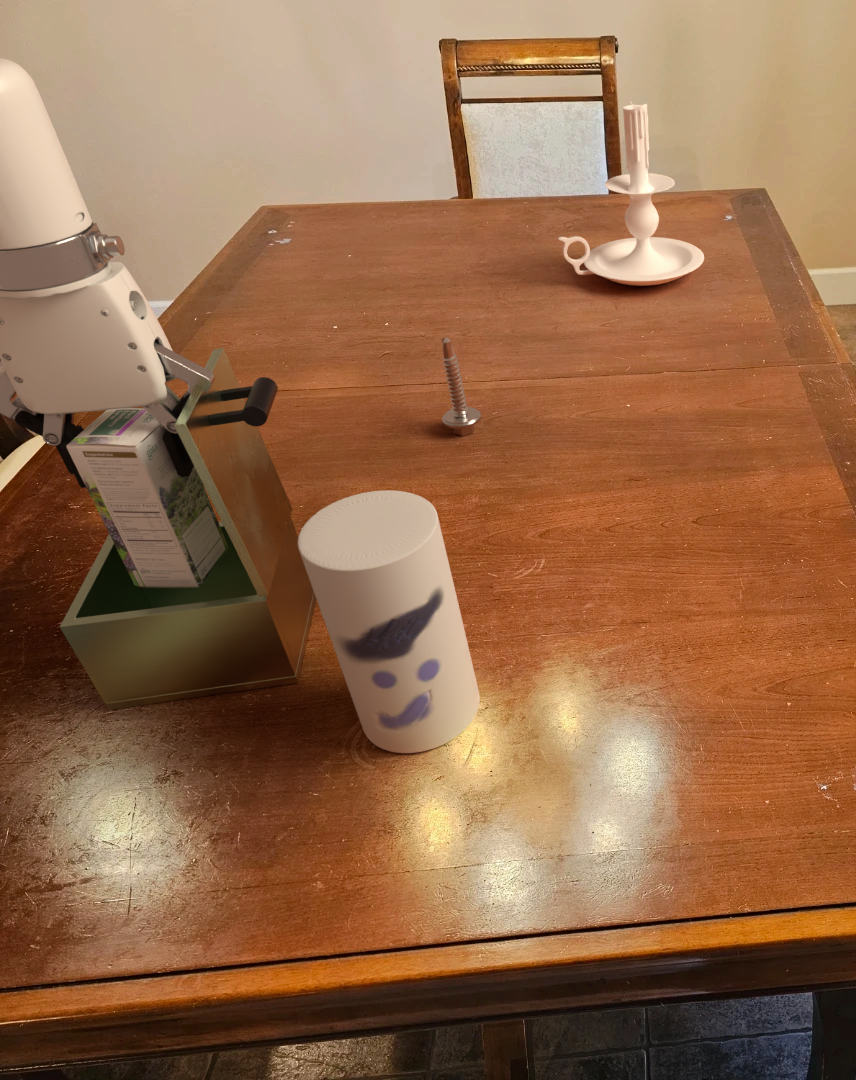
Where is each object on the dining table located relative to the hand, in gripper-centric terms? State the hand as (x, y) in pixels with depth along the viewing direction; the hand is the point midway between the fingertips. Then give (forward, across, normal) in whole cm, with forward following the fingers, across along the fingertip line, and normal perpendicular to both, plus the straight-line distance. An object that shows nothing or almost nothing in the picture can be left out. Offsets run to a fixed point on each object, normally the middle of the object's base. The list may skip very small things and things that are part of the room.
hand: (140, 471), depth 75 cm
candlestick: (+20, -50, -83) cm, 99 cm away
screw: (+20, -22, -36) cm, 47 cm away
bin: (+20, 0, 0) cm, 20 cm away
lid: (+1, -7, 0) cm, 7 cm away
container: (+20, -19, +12) cm, 30 cm away
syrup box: (+10, 0, 0) cm, 10 cm away
